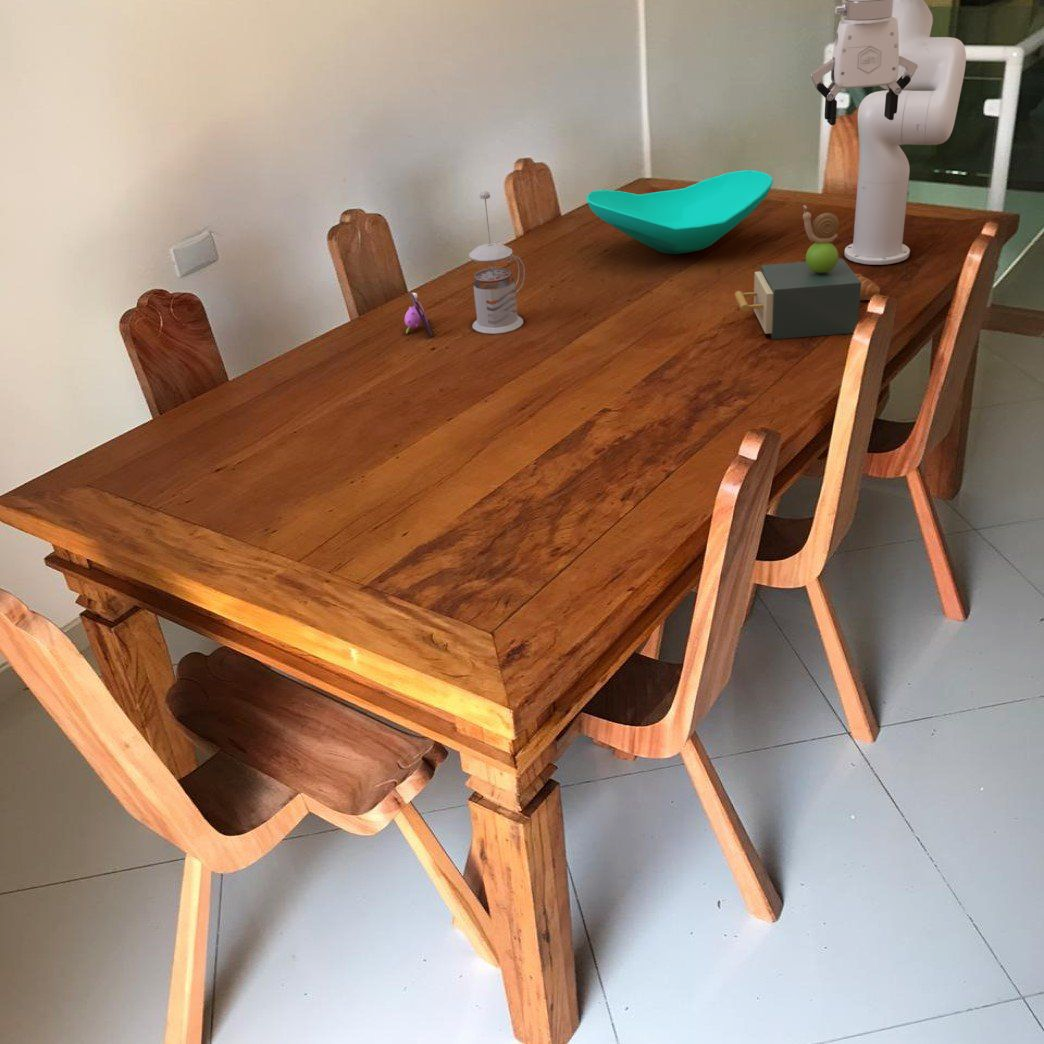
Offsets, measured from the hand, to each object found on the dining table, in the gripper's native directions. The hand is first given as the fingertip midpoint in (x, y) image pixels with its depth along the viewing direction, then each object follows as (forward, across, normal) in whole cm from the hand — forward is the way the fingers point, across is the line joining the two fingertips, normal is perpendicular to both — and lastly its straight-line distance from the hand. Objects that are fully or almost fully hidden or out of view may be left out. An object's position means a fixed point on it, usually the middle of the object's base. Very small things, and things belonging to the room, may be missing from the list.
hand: (859, 120), depth 186 cm
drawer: (+31, -13, -8) cm, 35 cm away
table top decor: (+32, -26, +38) cm, 56 cm away
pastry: (+32, +2, +4) cm, 33 cm away
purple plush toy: (+32, -80, +3) cm, 86 cm away
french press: (+32, -64, +4) cm, 72 cm away
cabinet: (+32, -9, -8) cm, 34 cm away
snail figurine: (+23, -8, -8) cm, 26 cm away
